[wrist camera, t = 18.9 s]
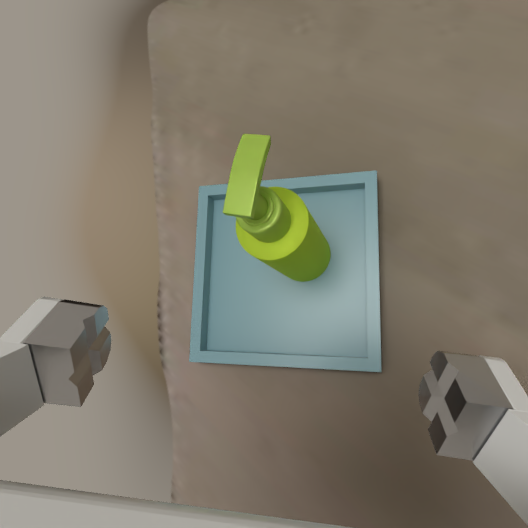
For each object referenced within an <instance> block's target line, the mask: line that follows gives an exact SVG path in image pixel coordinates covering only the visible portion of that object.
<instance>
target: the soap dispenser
mask: <svg viewBox="0 0 528 528" xmlns="http://www.w3.org/2000/svg"><path fill="white" fill-rule="evenodd" d="M270 145H271V138H270V136H268V135H255V134H243V135H242V138H241V140H240V143H239V146H238V148H237V151H236V154H235V157H234V161H233V165H232V168H231V173H230V177H229V182H228V187H227V192H226V197H225V202H224V207H223V213H224V214H225V215H227V216H234V217H236V234H237V238H238V240H239V242H240V244H241V246H242V247H243V248H244V250H245V251H246V252H248V253H249V254H250V255H252V256H253V257H255V258H257V259H258V260H260V261H262V262H263V263H265V264H267V265H268V266H270V267H272V268H274V269H275V270H277V271H279V272H280V273H282V274H284V275H285V276H287V277H289V278H290V279H292V280H295V281H300V282H305V281H311V280H313V279H315V278H317V277H319V276H320V275H321V274H322V273H323V272H324V271H325V270H326V268H327V266H328V264H329V261H330V256H331V252H330V247H329V244H328V242H327V240H326V238H325V237H324V235H323V233H322V232H321V230H320V228H319V227H318V225H317V223H316V222H315V220H314V218H313V217H312V215H311V213H310V212H309V210H308V208H307V207H306V205H305V203H304V202H303V200H302V199H301V198H300V197H299V196H298V195H297V194H296V193H294V192H293V191H291V190H289V189H286V188H283V187H264V186H260V185H261V180H262V175H263V170H264V166H265V162H266V158H267V155H268V152H269V149H270Z"/></svg>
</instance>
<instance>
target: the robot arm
mask: <svg viewBox="0 0 528 528" xmlns="http://www.w3.org/2000/svg"><path fill="white" fill-rule="evenodd" d="M108 319H109V318H108V311H107V308H106V307H105V306H103V305H97V304H90V303H83V302H77V301H71V300H62V299H56V298H50V297H42V298H39V299H37V300H36V301H35V302H34V303H33V304H32V305H31V306H30V307H29V308H28V309H27V311H26V312H25V313H24V314H23V315H22V316H21V317H20V318H19V319H18V320H17V321H16V322H15V323H14V324H13V325H12V326H11V327H10V328H9V329H8V330H7V331H6V332H5V333H4V334H3V335H2V336H1V337H0V436H2V435H3V434H4V433H6V432H7V431H9V430H10V429H11V428H13V427H14V426H16V425H17V424H18V423H20V422H21V421H23V420H24V419H25V418H27V417H28V416H29V415H31V414H32V413H34V412H35V411H36V410H38V409H39V408H41V407H42V406H43V405H44V403H49V404H58V405H68V406H78V407H81V406H82V404H83V403H84V401H85V399H86V397H87V396H88V394H89V392H90V390H91V389H92V387H93V385H94V382H93V375H94V374H96V373H98V372H100V371H101V370H102V369H103V367H104V366H105V364H106V362H107V359H108V356H109V353H110V348H111V334H110V332H109V331H108V330H107V329H106V327H104V326H105V324H106V323H107V321H108ZM430 364H431V366H432V369H433V370H431V371H430V372H428V373H426V374H425V375H424V376H423V378H422V381H421V383H420V388H419V402H420V406H421V410H422V413H423V414H424V415H425V416H426V417H427V418H428V419H429V420H430V421H431V422H432V423H431V424H430V426H429V428H428V431H429V434H430V437H431V440H432V443H433V445H434V448H435V451H436V454H437V455H441V456H447V457H453V458H460V459H466V460H472V461H473V463H474V464H475V466H476V467H477V468H478V469H479V470H480V471H481V472H482V474H483V475H484V476H485V477H486V478H487V479H488V481H489V482H490V483H491V484H492V485H493V486H494V487H495V489H496V490H497V491H498V492H499V493H500V494H501V496H502V497H503V498H504V499H505V500H506V501H507V502H508V504H509V505H510V506H511V507H512V508H513V509H514V511H515V512H516V513H517V514H518V515H519V516H520V517H521V519H522V520H523V521H524V522H525V523H526V524H527V526H528V396H527V394H526V393H525V391H524V389H523V388H522V386H521V385H520V383H519V382H518V380H517V379H516V377H515V375H514V374H513V372H512V371H511V369H510V368H509V366H508V365H507V363H506V362H505V361H504V360H503V359H501V358H497V357H488V356H476V355H468V354H460V353H452V352H444V351H437V352H436V353H435V354H434V355H433V357H432V359H431V361H430ZM0 528H354V527H346V526H339V525H331V524H324V523H316V522H309V521H301V520H294V519H286V518H279V517H271V516H264V515H257V514H249V513H242V512H234V511H227V510H219V509H212V508H204V507H197V506H189V505H182V504H175V503H167V502H160V501H152V500H145V499H137V498H130V497H122V496H115V495H107V494H100V493H92V492H85V491H77V490H70V489H63V488H55V487H48V486H40V485H32V484H26V483H18V482H11V481H3V480H0Z"/></svg>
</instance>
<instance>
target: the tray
mask: <svg viewBox="0 0 528 528" xmlns="http://www.w3.org/2000/svg"><path fill="white" fill-rule="evenodd" d="M260 186H264V187H283V188H286V189H289V190H291V191H293V192H294V193H296V194H297V195H298V196H299V197H300V198H301V199H302V200H303V202H304V203H305V205H306V207H307V208H308V210H309V212H310V213H311V215H312V217H313V218H314V220H315V222H316V223H317V225H318V227H319V228H320V230H321V232H322V233H323V235H324V237H325V238H326V240H327V242H328V244H329V247H330V252H331V256H330V261H329V264H328V266H327V268H326V270H325V271H324V272H323V273H322V274H321V275H320V276H319V277H317V278H315V279H313V280H311V281H305V282H300V281H295V280H292V279H290V278H289V277H287V276H285V275H284V274H282V273H280V272H279V271H277V270H275V269H274V268H272V267H270V266H268V265H267V264H265V263H263V262H262V261H260V260H258V259H257V258H255V257H253V256H252V255H250V254H249V253H248V252H246V251H245V250H244V248H243V247H242V246H241V244H240V242H239V240H238V238H237V234H236V217H234V216H227V215H225V214H224V213H223V207H224V202H225V197H226V192H227V187H228V184H220V185H209V186H199V198H198V216H197V234H196V251H195V269H194V287H193V304H192V322H191V340H190V357H189V362H204V363H223V364H241V365H259V366H277V367H296V368H314V369H332V370H351V371H369V372H381V327H380V283H379V240H378V196H377V171H366V172H355V173H344V174H332V175H321V176H310V177H299V178H288V179H276V180H265V181H261V185H260Z"/></svg>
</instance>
